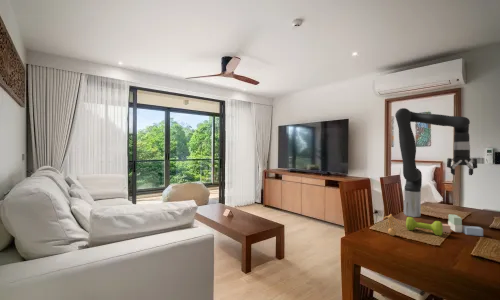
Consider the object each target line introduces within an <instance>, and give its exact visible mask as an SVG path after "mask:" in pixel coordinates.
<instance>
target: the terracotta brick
mask: <svg viewBox="0 0 500 300" xmlns="http://www.w3.org/2000/svg"><path fill="white" fill-rule="evenodd" d="M442 225H443V233H445V232H446V233H448V234H451V229H450V225H448V223H442ZM446 233H445V234H446Z"/></svg>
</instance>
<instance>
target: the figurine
mask: <svg viewBox="0 0 500 300" xmlns="http://www.w3.org/2000/svg"><path fill="white" fill-rule="evenodd" d="M386 218H387V219H388V220H387V222H388V224H389V228H388V230H387V232H388V235H390V236H396V235H397V230H396V229H395V228H394V227H395V222H394V220H395V221H396V222H397V223H399V225H401V223H400V221H398V219H397V218H395V217H394V216H393V214H392V213H390V214H389V215H386V216H383V219H382V220H383V221H385V219H386ZM391 224H392V225H391ZM391 226H392V227H391Z"/></svg>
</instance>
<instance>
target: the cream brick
mask: <svg viewBox="0 0 500 300" xmlns="http://www.w3.org/2000/svg"><path fill="white" fill-rule="evenodd" d="M447 224H448V225H450V231H451V230H452V231H453V232H455V233H463V224H462V225H454V224H452V223H451V222H449V220H447Z"/></svg>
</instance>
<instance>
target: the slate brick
mask: <svg viewBox="0 0 500 300" xmlns="http://www.w3.org/2000/svg"><path fill="white" fill-rule="evenodd" d="M462 233H463V234H465V235H467V236H476V237H484V229H483V228H482V227H481V226H473V225H471V226H470V225H462Z"/></svg>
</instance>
